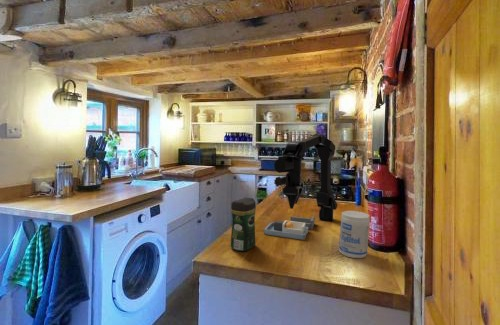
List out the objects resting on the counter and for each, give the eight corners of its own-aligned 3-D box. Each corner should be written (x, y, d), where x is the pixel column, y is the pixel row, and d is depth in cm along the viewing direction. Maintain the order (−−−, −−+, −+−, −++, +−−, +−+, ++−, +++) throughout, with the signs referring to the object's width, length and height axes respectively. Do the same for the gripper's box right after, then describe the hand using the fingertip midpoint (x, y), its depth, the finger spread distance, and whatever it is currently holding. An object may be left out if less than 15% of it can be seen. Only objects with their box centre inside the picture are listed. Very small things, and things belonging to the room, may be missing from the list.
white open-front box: (305, 231, 119) (305, 222, 119) (303, 236, 113) (303, 226, 113) (276, 227, 123) (276, 219, 123) (272, 232, 118) (273, 223, 117)
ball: (295, 224, 119) (289, 220, 120) (293, 226, 116) (286, 221, 117) (292, 231, 120) (285, 226, 121) (289, 232, 116) (283, 228, 118)
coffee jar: (240, 240, 108) (241, 195, 107) (258, 245, 104) (259, 197, 102) (226, 249, 100) (227, 199, 98) (244, 254, 96) (245, 202, 94)
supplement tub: (337, 256, 96) (340, 215, 95) (339, 246, 105) (341, 209, 103) (367, 261, 92) (370, 219, 91) (367, 250, 101) (369, 212, 100)
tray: (308, 231, 121) (308, 226, 121) (304, 240, 111) (304, 235, 110) (270, 226, 127) (270, 222, 127) (263, 234, 116) (264, 229, 116)
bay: (314, 224, 132) (314, 216, 131) (312, 229, 123) (312, 221, 123) (290, 221, 136) (291, 213, 135) (287, 226, 127) (287, 218, 127)
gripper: (281, 167, 129) (280, 199, 130) (270, 172, 111) (270, 209, 113) (304, 168, 125) (303, 201, 127) (298, 173, 108) (296, 212, 109)
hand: (293, 206), depth 119 cm, fingers open, 9 cm apart
